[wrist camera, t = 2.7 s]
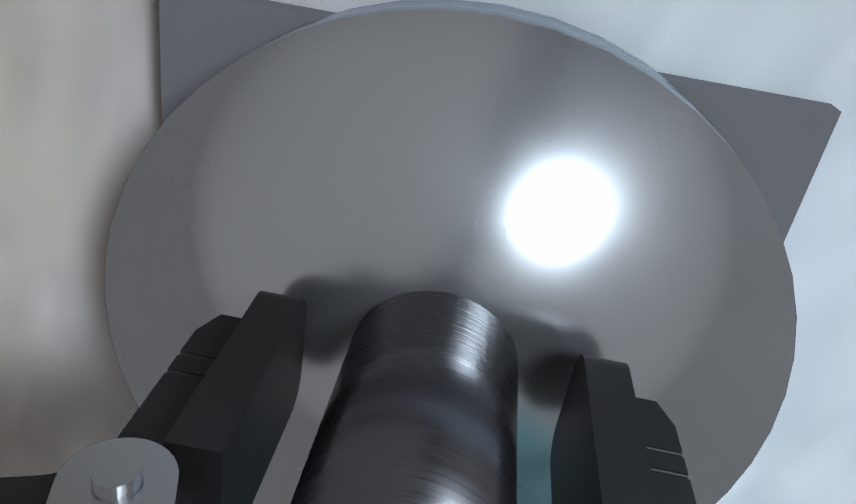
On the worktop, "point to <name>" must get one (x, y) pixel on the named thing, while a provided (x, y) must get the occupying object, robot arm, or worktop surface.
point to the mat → (721, 104)
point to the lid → (458, 250)
